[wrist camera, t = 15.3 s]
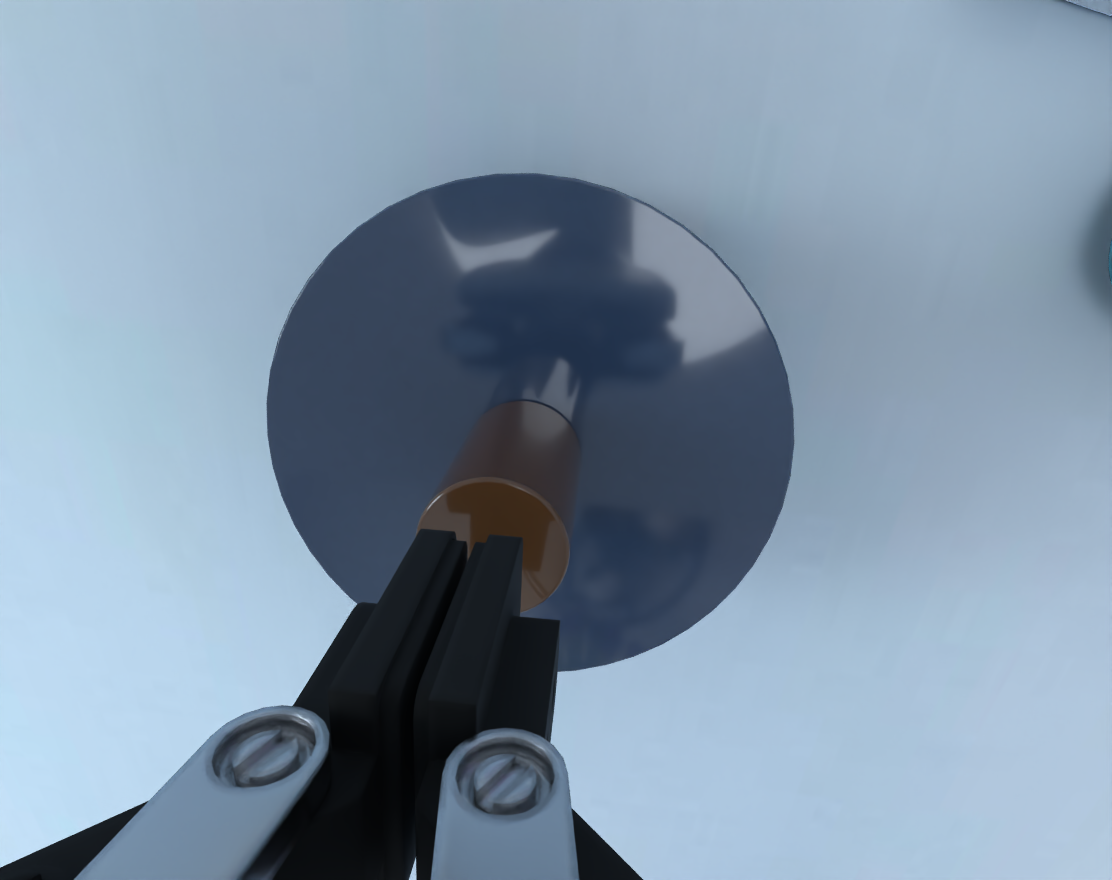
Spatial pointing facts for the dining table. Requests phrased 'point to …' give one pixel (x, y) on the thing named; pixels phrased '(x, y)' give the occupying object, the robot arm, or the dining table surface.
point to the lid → (536, 405)
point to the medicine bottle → (1095, 5)
